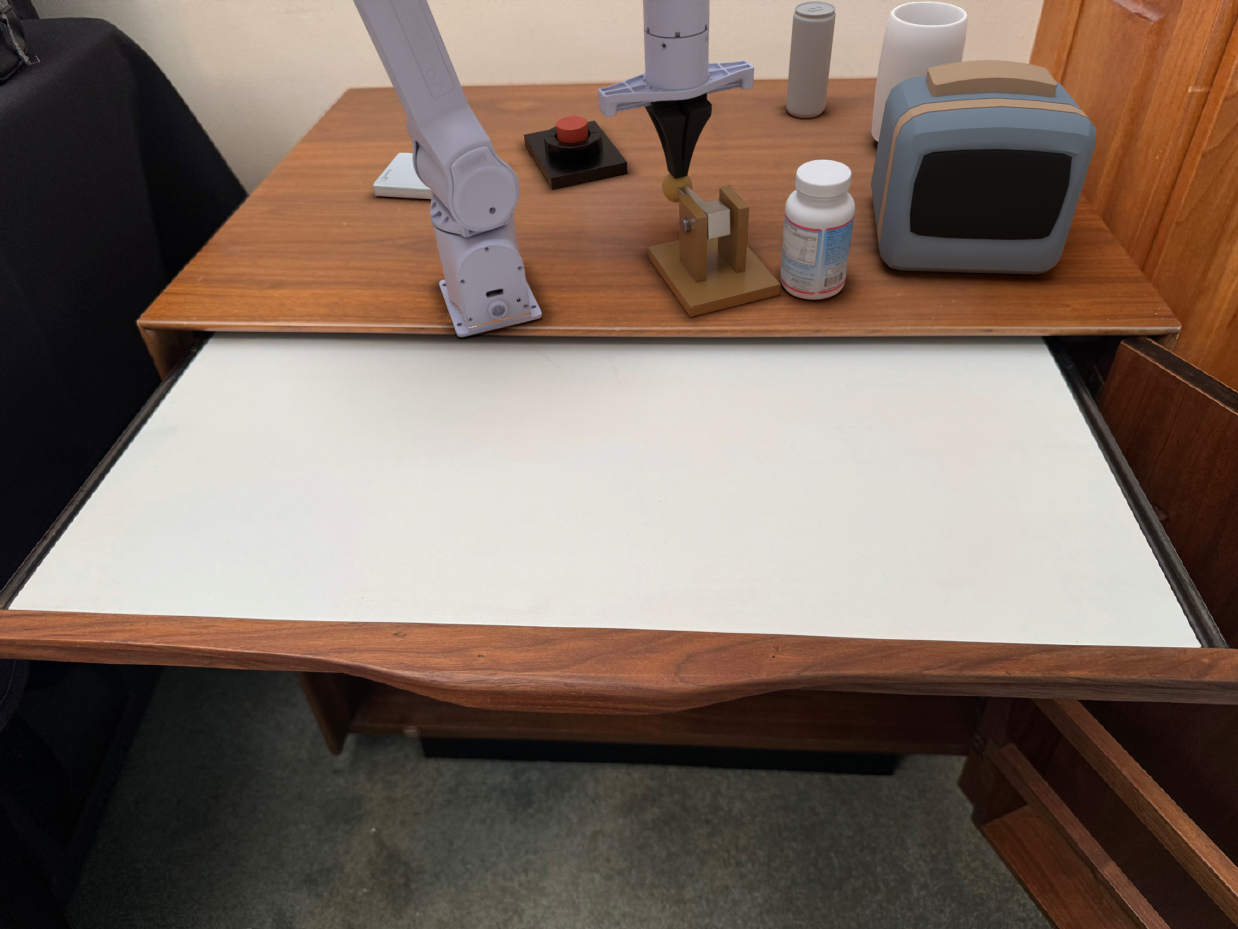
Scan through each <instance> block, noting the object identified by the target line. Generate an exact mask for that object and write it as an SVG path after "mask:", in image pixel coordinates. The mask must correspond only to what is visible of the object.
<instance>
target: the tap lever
mask: <svg viewBox="0 0 1238 929" xmlns="http://www.w3.org/2000/svg"><path fill="white" fill-rule="evenodd" d="M661 191H662V193H663V196H664V197H665V199H667V200H668V201H670V202H672V203H674V204H676V203H678V204H679V196H683V195H687V194H689V195H690V196H691V197H692V199H693V200H694V201H695V202H696V203H697V204H698V206H699V207H700V208H701V209H702V210H703V212H704V213H705V214H706V215H707V216H708V222H707V239H714V238H718V237H722V236H727V235H730V209H728V208H727V207H726V206H725V205H724V204H723V203H721V202H720V201H719V199H714V200H709V201H705V200H704V199H703V198H702V197H701V196H699V194H697V193H696V192H695V191H694V190H693V182H692V179H691V177H690V176H689V174H688V175H687V176H685V177H681V178H676V179H675V178H674V177H673V176H672V175H671V174H670V173H669V172H668V174H667V175H665V177H664V178H663V180H662V184H661Z"/></svg>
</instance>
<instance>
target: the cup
mask: <svg viewBox="0 0 1238 929" xmlns="http://www.w3.org/2000/svg"><path fill="white" fill-rule="evenodd" d="M968 23H969V15H968V13H967V11H966V10H964V9H963V8H962V7H959V6H957V5H955V4H951V3H948V2H941V1H929V0H928V1H925V0H924V1H923V0H922V1H921V0H920V1H912V2H911V1H909V2H906V3H903V4H899V5H898V6H896V7H895V8H893V9H892V10H891V11H890V13H889V14H888V19H887V23H886V26H885V28H886V29H885V32H884V35H883V41H882V45H881V51H880V55H879V61H878V67H877V68H878V69H877V74H876V82H875V90H874V98H873V106H872V116H871V118H872V119H871V131H870V133H871V136H872V138H873V139H874V140H875V141H876V142H877V143H878V142H879V136H880V131H881V125H882V120H883V114H884V108H885V103H886V100H887V98H888V96H889V94H890V91H891V89H892V88H894V87H895V86H896V85H897V84H899V83H900V82H901V81H904V80H907V79H909V78H913V77H922V76H926V75H927V69H928V68H931V67H935V66H940V65H945V64H950V63H957V62H963V56H964V51H965V46H966V40H967V31H968Z"/></svg>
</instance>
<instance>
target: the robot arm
mask: <svg viewBox="0 0 1238 929" xmlns="http://www.w3.org/2000/svg"><path fill="white" fill-rule="evenodd" d="M352 2H353V3H354V6H355V8H356V11H357V12H358V14H359V16H360V18H361V21H362V23H363V25H364V27H365V29H366V31H367V34H368V36H369V38H370V40H371V42H372V44H373V46H374V48H375V51H376V53H377V55H378V57H379V59H380V62H381V63H382V66H383V68H384V70H385V72H386V74H387V77H388V78H389V80H390V83H391V86H392V87H393V89H394V92H395V94H396V96H397V98H398V100H399V102H400V105H401V107H402V109H403V112H404V113H405V115H406V120H405V128H406V130H407V132H408V134H409V137H410V139H411V144H412V153H413V157H412V160H413V167H414V170H415V172H416V175H417V176H418V178H419V179H420V181H421V182H422V183H423V184H424V185H425V186H427V187H429V188H430V189H431V190H432V199H430V205H429V208H430V210H429V215H430V220H431V225H432V228H433V233H434V237H435V242H436V246H437V251H438V255H439V259H440V264H441V268H442V273H443V278H444V279H441V280H440V281H439V282H438V286H439V289H440V292H441V295H442V297H443V299H444V302H445V305H446V308H447V311H448V314H449V318H450V319H451V322H452V326H453V328H454V330H455V331H454V332H455V333H456V336H457V337H459V338H464V337H469V336H474V335H478V334H482V333H486V332H489V331H494V330H498V329H502V328H506V327H510V326H514V325H519V324H523V323H528V322H531V321H535V320H539V319H541V318H542V317H543V312H542V310H541V307H540V306H539V304H538V301H537V299H536V297H535V296H534V292H532V289H531V286H530V285H529V283H528V281H527V278H526V277H527V275H526V270H525V265H524V264H525V263H524V261H523V258H522V256H521V254H520V248H519V241H518V234H517V228H516V221H515V214H514V212H515V210H516V208H517V207H518V203H519V200H520V195H521V194H520V193H521V187H520V186H521V185H520V181H519V178H518V175H517V174H516V171H515V170H514V169H513V168H512V167H511V165H509V163H507V162H506V161H505V160H504V159H502V157H500V156H499V155H498V153H497V152H496V150H495V148H494V144H493V143H492V141H491V138H490V136H489V135H488V133H487V131H486V130H485V128H484V127H483V125H482V124H481V122H480V121H479V118H477V116H476V114H475V112H474V111H473V109H472V108H471V106H470V104H469V101H468V100H467V97H466V94H465V92H464V90H463V87H462V85H461V82H460V78H459V76H458V74H457V72H456V70H455V67H454V64H453V62H452V59H451V56H450V55H449V52H448V50H447V47H446V45H445V42H444V40H443V37H442V35H441V32H440V29H439V27H438V25H437V22H436V20H435V18H434V15H433V12H432V9H431V7H430V4H429V3H428V0H352ZM710 2H711V1H710V0H642V14H643V15H642V18H643V50H644V72H643V73H640V74H638V75H636V76H633V77H630V78H627V79H624V80H623V81H620V82H617V83H614V84H611V85H608V86H605V87H599V88H598V89H597V96H598V110H599V111H600V112H601V114H602V115H603V116H604V117H605V118H612V117H616V116H617V113H621V112H624V111H630V110H634V109H640V108H644V109H645V110H646V112H647V114H648V116H649V118H650V120H651V122H652V124H653V126H654V129H655V131H656V133H657V136H658V139H659V141H660V144H661V147H662V150H663V154H664V158H665V163H666V170H667V172H668V174H669V173H670V174H671V175H672V176H673V177H674V178H675V179H676V178H681V177H685V176H687V175H688V176H689V170H690V166H691V162H692V158H693V155H694V152H695V149H696V146H697V143H698V141H699V139H700V136H701V134H702V132H703V130H704V128H705V127H706V124H707V123H708V121H709V120H710V118H711V117H712V113H713V104H712V103H711V101H709V99H708V95H709V94H715V93H719V92H725V91H730V90H734V89H741V90H742V91H745V90H750V89H754V78H755V76H754V75H755V66H753V65H752V64H750V63H749V62H748V61H747V60H746V59H743V60H738V61H737V60H736V61H727V62H710V60H709V58H710V56H709V54H710V13H711V12H710V11H711V10H710V7H711V5H710V4H711V3H710ZM518 299H519V300H518ZM451 301H452V302H453V303H455V305H457V306H458V307H459V309H460V310H461V311H460V310H459V309H458V307H456V306H455V305H454V304H453V303H452V302H451ZM461 312H462V313H461ZM526 313H531V314H527V315H523V314H526ZM462 314H463V315H462ZM517 315H522V316H518V317H515V316H517ZM463 317H464V318H463ZM509 317H514V318H510V319H506V320H502V321H497V322H493V323H489V324H485V323H488V322H491V321H494V320H499V319H505V318H509ZM464 320H465V321H464ZM482 324H485V325H482ZM466 325H467V326H466ZM473 325H481V326H477V327H473V328H468V327H472V326H473Z"/></svg>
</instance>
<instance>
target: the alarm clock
mask: <svg viewBox="0 0 1238 929" xmlns="http://www.w3.org/2000/svg"><path fill="white" fill-rule="evenodd" d="M1096 143H1097V128H1096V126H1095V125H1094V123H1093V122H1092V121H1091V119H1090V118H1089V117H1088V115H1087V114H1086V113H1085V112H1084V110H1083V109H1082V107H1080V106H1079V105H1078V103H1077V102H1076V101H1075V100H1074V98H1073V97H1072V96H1071V95H1070V94H1069V92H1068V91H1067V90H1066V88H1065V87H1064V86H1063V85H1062V84H1061V83H1060V82H1058V81H1056V79H1055V78H1054V77H1053V76H1052V74H1051V73H1050V71H1049V70H1048V69H1047V68H1046V67H1044V66H1040V65H1039V66H1038V65H1035V64H1030V63H1026V62H1021V61H1020V62H1019V61H1013V60H1012V61H1011V60H1001V59H999V60H997V59H980V60H966V61H965V60H964V61H962V62H957V63H950V64H945V65H940V66H935V67H931V68H928V69H927V75H926V76H922V77H913V78H909V79H907V80H904V81H901V82H900V83H899V84H897V85H896V86H895V87H894V88H892V89H891V91H890V94H889V96H888V98H887V100H886V103H885V108H884V114H883V120H882V125H881V131H880V136H879V142H878V141H877V147H876V154H875V159H874V165H873V170H872V175H871V181H870V189H871V196H872V203H873V211H874V218H875V226H876V233H877V241H878V249H879V256H880V257H881V260H882V261H883V262H884V263H885V264H886V265H887V266H888V267H889V268H890V269H894V270H898V271H906V272H907V271H909V272H939V273H968V274H969V273H974V274H1000V275H1001V274H1005V275H1006V274H1007V275H1034V276H1035V275H1039V274H1043V273H1044V274H1045V273H1046V272H1048V271H1049V270H1051V269H1053V268H1054V267H1056V266H1057V264H1058V263H1059V262H1060V260H1061V258H1062V256H1063V252H1064V250H1065V246H1066V244H1067V240H1068V236H1069V233H1070V230H1071V226H1072V224H1073V220H1074V217H1075V213H1076V210H1077V206H1078V204H1079V201H1080V196H1081V194H1082V191H1083V188H1084V184H1085V181H1086V177H1087V174H1088V171H1089V168H1090V165H1091V162H1092V158H1093V155H1094V151H1095V148H1096Z"/></svg>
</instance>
